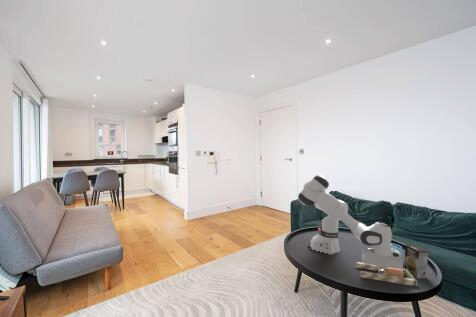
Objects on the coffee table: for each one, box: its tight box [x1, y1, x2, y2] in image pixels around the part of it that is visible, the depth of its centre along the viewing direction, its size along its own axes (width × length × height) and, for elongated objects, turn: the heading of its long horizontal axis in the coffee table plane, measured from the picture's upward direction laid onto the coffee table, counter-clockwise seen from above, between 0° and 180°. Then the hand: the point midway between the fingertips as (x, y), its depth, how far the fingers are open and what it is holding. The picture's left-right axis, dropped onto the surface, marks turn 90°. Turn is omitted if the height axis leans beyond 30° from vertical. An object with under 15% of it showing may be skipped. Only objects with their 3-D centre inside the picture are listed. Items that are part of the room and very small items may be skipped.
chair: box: [391, 242, 404, 263], centre depth 139 cm, size 8×8×12 cm
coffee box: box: [403, 244, 429, 279], centre depth 126 cm, size 9×6×16 cm
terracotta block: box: [384, 267, 405, 278], centre depth 123 cm, size 8×5×5 cm, turn 69°
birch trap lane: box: [355, 261, 418, 287], centre depth 126 cm, size 27×16×3 cm, turn 72°
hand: (381, 272), depth 125 cm, fingers closed
